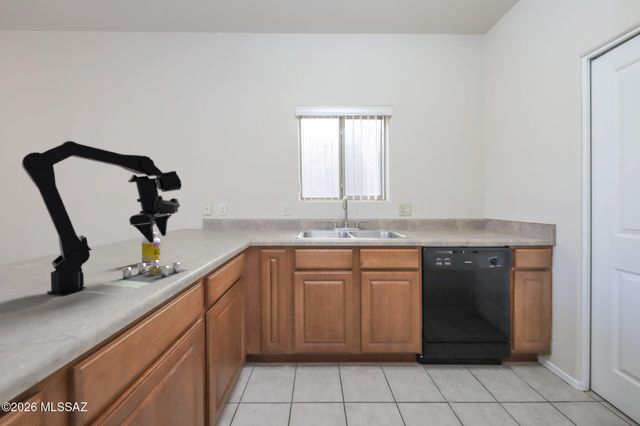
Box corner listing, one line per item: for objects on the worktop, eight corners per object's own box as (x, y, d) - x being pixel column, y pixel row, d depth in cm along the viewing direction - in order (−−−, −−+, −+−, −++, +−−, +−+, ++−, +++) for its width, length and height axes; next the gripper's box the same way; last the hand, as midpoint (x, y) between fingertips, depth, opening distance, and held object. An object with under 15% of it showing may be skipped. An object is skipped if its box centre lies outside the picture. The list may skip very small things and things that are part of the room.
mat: (136, 289, 88) (136, 288, 88) (101, 285, 91) (101, 284, 91) (188, 271, 110) (188, 270, 110) (158, 268, 113) (158, 267, 113)
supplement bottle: (154, 265, 118) (154, 233, 117) (138, 265, 118) (137, 233, 117) (163, 262, 124) (163, 231, 124) (148, 261, 124) (147, 231, 124)
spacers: (152, 282, 94) (152, 271, 94) (120, 279, 97) (120, 268, 97) (183, 271, 108) (183, 261, 108) (154, 268, 111) (154, 259, 111)
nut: (157, 276, 101) (157, 269, 101) (145, 275, 102) (145, 268, 102) (165, 273, 105) (165, 266, 105) (154, 272, 106) (154, 265, 106)
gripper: (160, 194, 90) (171, 243, 93) (183, 189, 109) (191, 230, 112) (123, 198, 90) (134, 248, 93) (152, 192, 108) (161, 233, 111)
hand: (158, 239), depth 102 cm, fingers open, 9 cm apart
